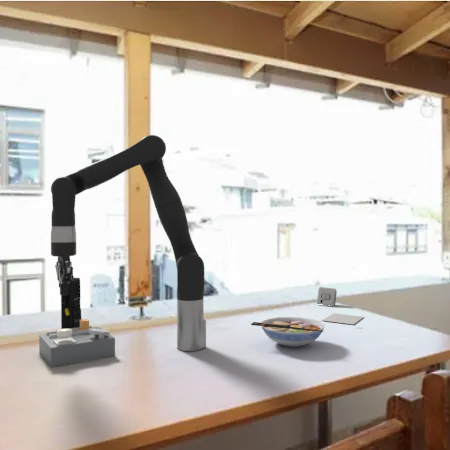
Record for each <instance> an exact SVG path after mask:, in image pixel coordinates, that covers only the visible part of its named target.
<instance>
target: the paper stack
mask: <svg viewBox="0 0 450 450" xmlns="http://www.w3.org/2000/svg"><path fill="white" fill-rule="evenodd" d="M362 319H364V316H361V315H360V316H359V315H358V316H357V315H353V314H344V313H335V312H334V313H331V314H330V315H328V316H327V317H325V318H323V319H321V321H325V322H330V323H331V322H332V323H333V322H334V323H339V324H346V325H355V324H356V323H357V322H359V321H360V320H362ZM357 329H359V330H362V329H363V327H357Z"/></svg>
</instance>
